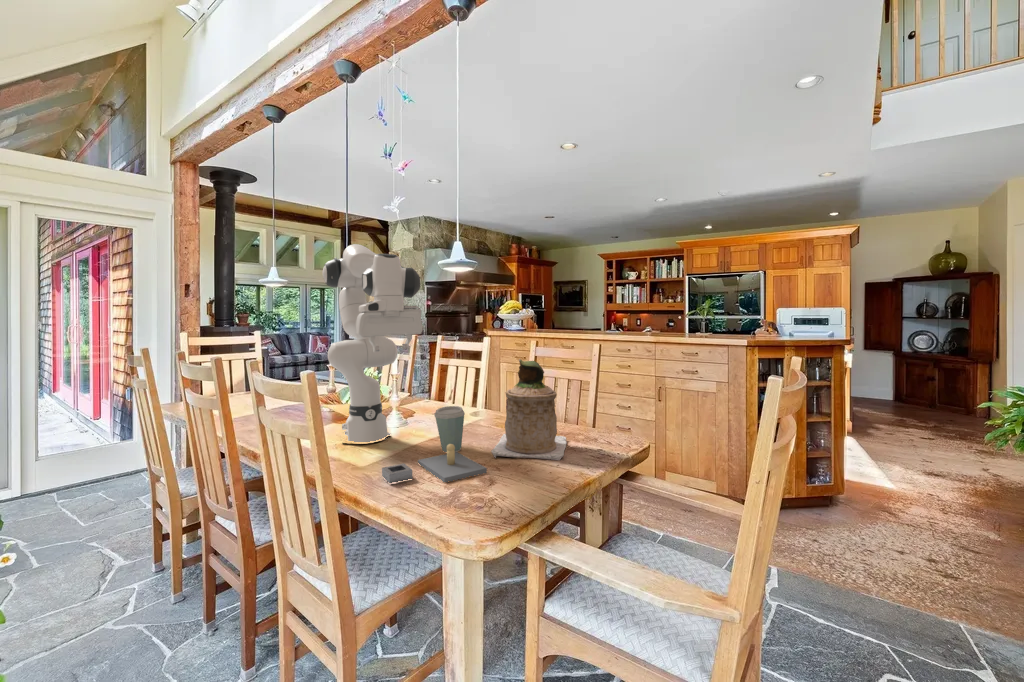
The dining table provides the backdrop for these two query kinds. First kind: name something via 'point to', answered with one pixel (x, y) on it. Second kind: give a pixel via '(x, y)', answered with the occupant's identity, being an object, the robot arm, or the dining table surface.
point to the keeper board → (452, 465)
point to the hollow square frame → (397, 473)
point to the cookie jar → (530, 418)
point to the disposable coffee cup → (450, 426)
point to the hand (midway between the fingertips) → (391, 350)
